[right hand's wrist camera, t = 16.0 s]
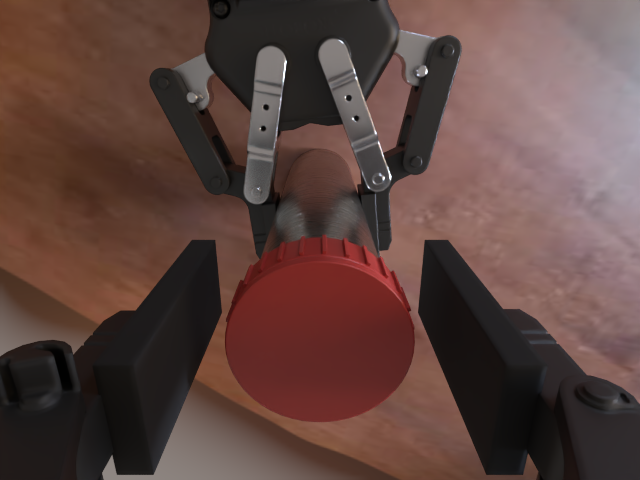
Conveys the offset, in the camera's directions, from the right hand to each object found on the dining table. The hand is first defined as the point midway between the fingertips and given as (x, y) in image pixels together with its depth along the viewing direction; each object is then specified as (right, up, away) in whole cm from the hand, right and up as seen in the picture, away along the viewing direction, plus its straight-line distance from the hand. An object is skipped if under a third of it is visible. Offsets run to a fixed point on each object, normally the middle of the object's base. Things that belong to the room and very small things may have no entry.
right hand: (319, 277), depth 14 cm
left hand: (0, 0, +8) cm, 8 cm away
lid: (0, -1, -3) cm, 4 cm away
